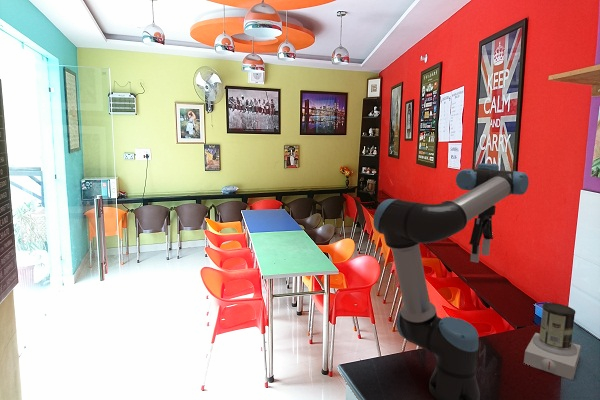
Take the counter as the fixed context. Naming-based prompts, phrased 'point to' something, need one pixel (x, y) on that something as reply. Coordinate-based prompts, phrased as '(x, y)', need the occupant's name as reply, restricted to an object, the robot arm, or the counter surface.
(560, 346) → the coffee can
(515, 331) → the counter surface
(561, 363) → the kitchen scale
